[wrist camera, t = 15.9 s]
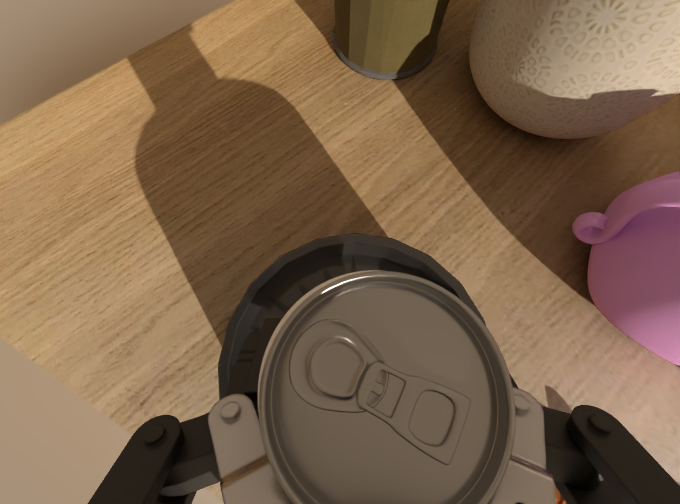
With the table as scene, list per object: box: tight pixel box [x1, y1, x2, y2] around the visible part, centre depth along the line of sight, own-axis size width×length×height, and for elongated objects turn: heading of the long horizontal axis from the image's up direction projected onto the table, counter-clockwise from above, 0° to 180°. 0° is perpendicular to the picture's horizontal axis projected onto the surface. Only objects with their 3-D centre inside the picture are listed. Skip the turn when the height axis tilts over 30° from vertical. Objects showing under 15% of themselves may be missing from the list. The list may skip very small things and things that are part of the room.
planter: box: [469, 0, 680, 139], centre depth 23 cm, size 17×17×15 cm
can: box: [258, 270, 516, 504], centre depth 13 cm, size 6×6×12 cm
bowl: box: [218, 233, 486, 504], centre depth 20 cm, size 15×15×6 cm
